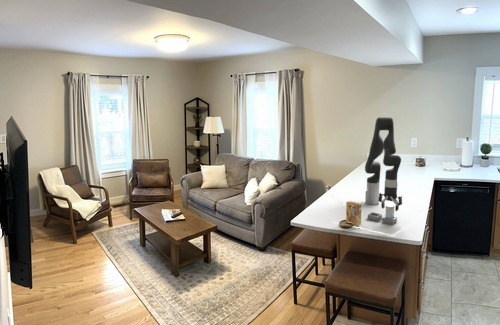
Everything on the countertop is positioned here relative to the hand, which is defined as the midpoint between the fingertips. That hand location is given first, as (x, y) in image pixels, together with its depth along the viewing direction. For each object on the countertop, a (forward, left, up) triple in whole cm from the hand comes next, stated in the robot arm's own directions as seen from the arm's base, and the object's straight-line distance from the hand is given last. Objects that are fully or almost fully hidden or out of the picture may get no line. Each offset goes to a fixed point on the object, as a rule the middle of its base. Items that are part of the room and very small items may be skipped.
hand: (389, 209), depth 225 cm
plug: (0, 0, -8) cm, 8 cm away
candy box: (-17, -17, -10) cm, 26 cm away
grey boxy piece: (-5, 0, -9) cm, 10 cm away
